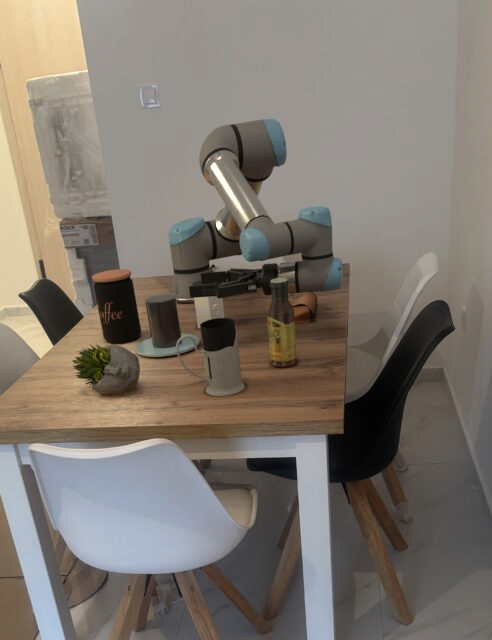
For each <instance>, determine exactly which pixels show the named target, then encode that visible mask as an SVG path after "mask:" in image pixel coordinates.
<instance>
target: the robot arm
mask: <svg viewBox="0 0 492 640" xmlns="http://www.w3.org/2000/svg"><path fill="white" fill-rule="evenodd" d="M287 153H288V149H287V141H286V137H285V133H284V129H283V127H282V125H281V123H280V122H279V121H278V120H277V119H275V118H266V119H265V118H262V119H257V120H251V121H244V122H238V123H232V124H224V125H220V126H218V127H216V128H215V129H213V130H212V131H211V132H209V134H208V135H207V136H206V137H205V139H204V140H203V143H202V144H201V148H200V151H199V157H198V158H199V159H198V160H199V168H200V171H201V174H202V175H203V177H204V179H205V180H206V182H207V184H209V185H210V186H213V187H214V188H215V190H216V192H217V193H218V195H219V196H220V198H221V200H222V201H223V203H224V205H223V208H221V209H220V210H219V211H218V212H217V214H216V216H215V219H212V220H205V219H204V218H203V217H200V216H199V217H193V218H192V217H191V218H187V219H184V220H181V221H178V222H176V223H174V224H172V225H171V226H170V227H169V228H168V245H169V250H170V256H171V262H172V269H173V279H172V287H171V292H170V294H173V295H175V296H176V300H177V304H178V303H179V304H192V303H194V304H195V302H194V298H197V297H211V296H216V297H217V298H218V299H220V298H223V299H224V298H229V297H234V296H240V295H245V294H255V293H257V292H258V290H257V289H260V288H261V289H262V293H263V295H264V296H272V293H271V287H270V281H271V280H272V279H275V278H286V279H288V295H290V296H292V297H293V296H294V295H295V294H302V293H304V294H306V293H309V292H314V293H325V292H331V291H337V290H340V289H341V288H342V286H343V283H344V282H343V281H344V280H343V278H344V277H343V275H344V273H343V271H344V270H343V260H342V259H341V258H340V257H335V255H334V251H333V222H332V214H331V209H330V208H329V207H327V206H324V205H323V206H320V205H319V206H318V205H317V206H316V205H315V206H308V207H304V208H301V209H300V210H299V212H298V217H297V219H293V220H287V221H282V222H277V223H275V222H274V221H273V219H272V218H271V216H270V214H269V213H268V211H267V210H266V209H265V207H264V205H263V204H262V202H261V200H260V199H259V195H260V192H261V188H262V185H263V183H264V182H265V181H266V180H268V179H269V178H270V176H271V175H272V173H273V171H274V168H275V167H277V168H279V167H280V166H284V165H285V163H286V161H287V157H288V156H287ZM297 254H301V260H299V261H297V260H296V261H283V262H279V263H277V262H273V263H272V262H271V263H264V264H262V265H261V268H255V269H254V268H229V269H228V270H222V271H213V269H215V268H216V265H215V264H211V266H210V261H213V260H214V261H215V260H218V259H224V258H229V257H235V256H242V257H243V258H244V259H245V261H247V262H249V263H253V262H264V261H267V260H273V259H277V258H282V257H288V256H292V255H297ZM200 280H201V281H202V284H211V283H214V284H211V285H198V286H192V284H193V283H194V282H196V281H200ZM218 283H221V284H220V285H218Z"/></svg>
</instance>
